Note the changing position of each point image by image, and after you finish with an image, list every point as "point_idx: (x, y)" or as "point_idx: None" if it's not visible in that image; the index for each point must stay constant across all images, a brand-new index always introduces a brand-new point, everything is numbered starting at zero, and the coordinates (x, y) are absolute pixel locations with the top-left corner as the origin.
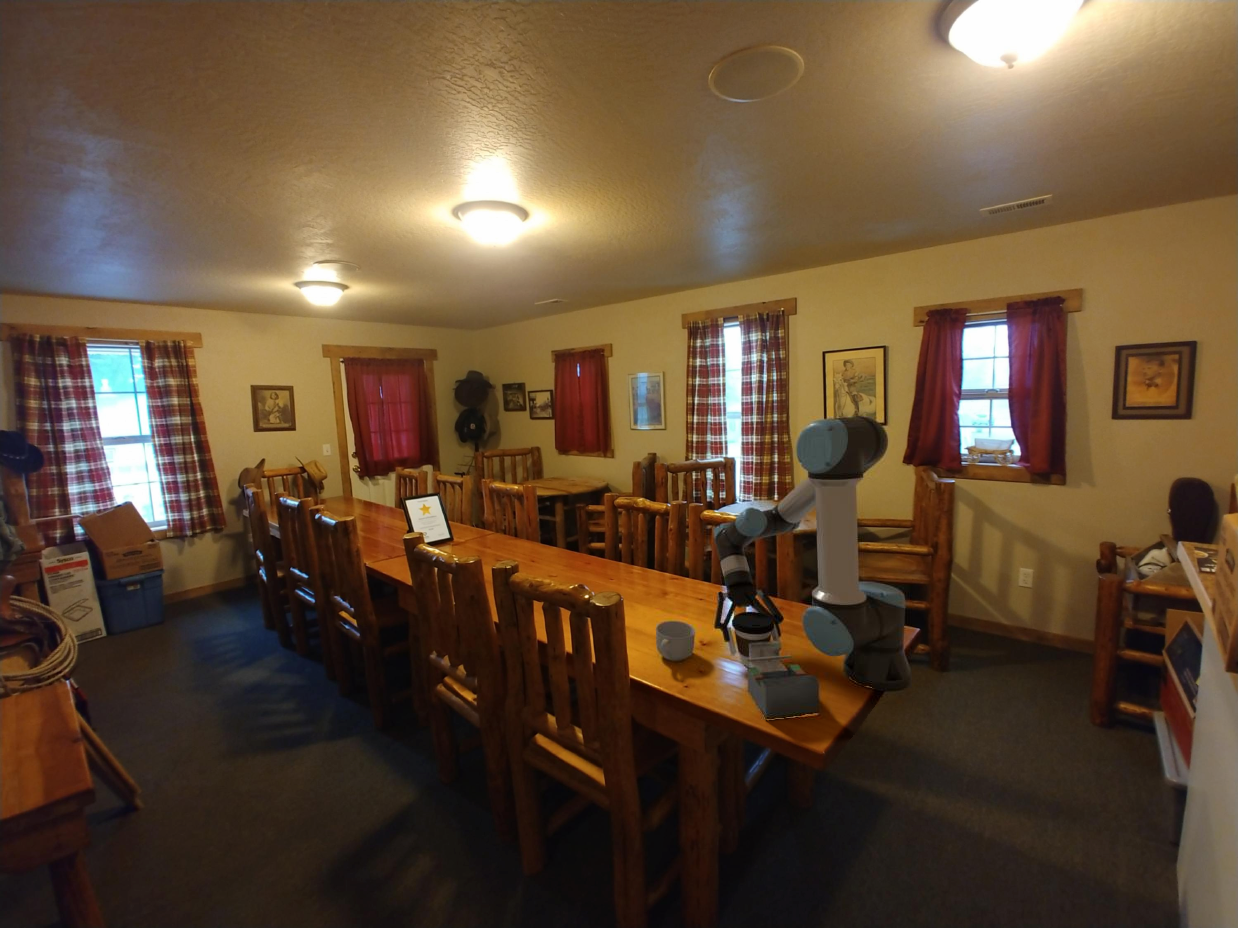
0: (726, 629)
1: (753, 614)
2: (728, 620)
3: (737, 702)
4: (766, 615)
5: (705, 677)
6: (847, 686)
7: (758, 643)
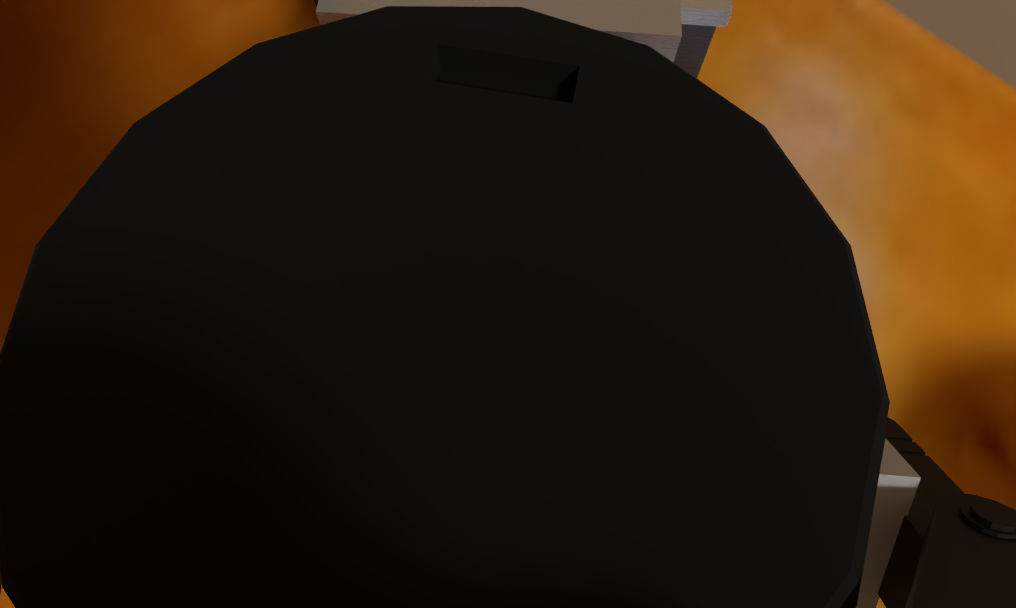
0: (918, 503)
1: (276, 578)
2: (952, 585)
3: (775, 52)
4: (9, 421)
5: (955, 346)
6: (38, 45)
7: (569, 10)
